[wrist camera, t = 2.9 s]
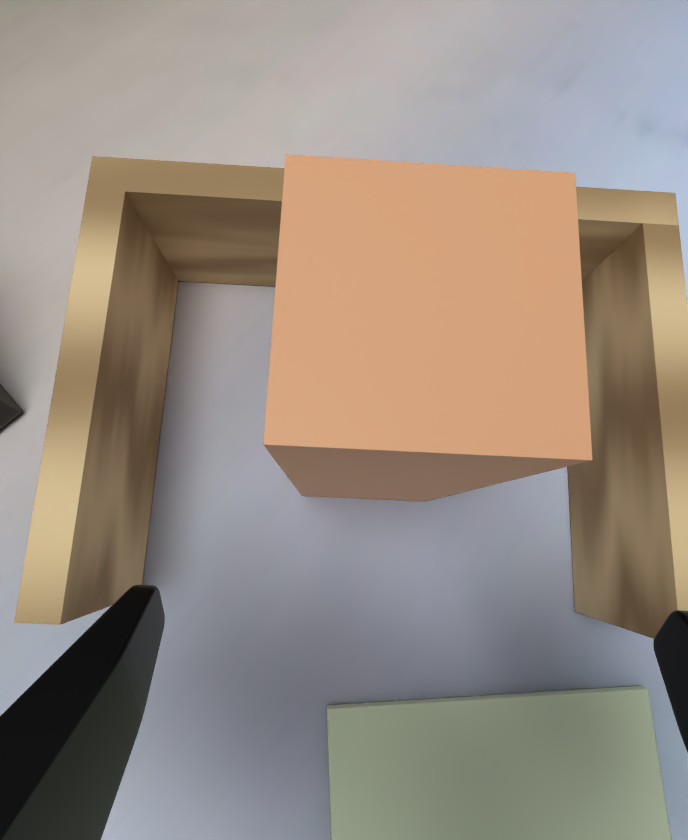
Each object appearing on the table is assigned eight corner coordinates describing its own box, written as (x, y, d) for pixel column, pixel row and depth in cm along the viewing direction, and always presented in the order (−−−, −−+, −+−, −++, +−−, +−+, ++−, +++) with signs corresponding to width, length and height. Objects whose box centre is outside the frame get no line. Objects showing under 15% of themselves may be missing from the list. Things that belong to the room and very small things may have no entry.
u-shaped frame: (605, 612, 20) (723, 648, 14) (109, 593, 19) (13, 622, 13) (584, 279, 23) (675, 192, 17) (153, 254, 22) (92, 156, 16)
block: (425, 501, 20) (592, 460, 8) (301, 495, 20) (263, 444, 8) (426, 382, 21) (575, 173, 9) (308, 376, 21) (285, 154, 9)
